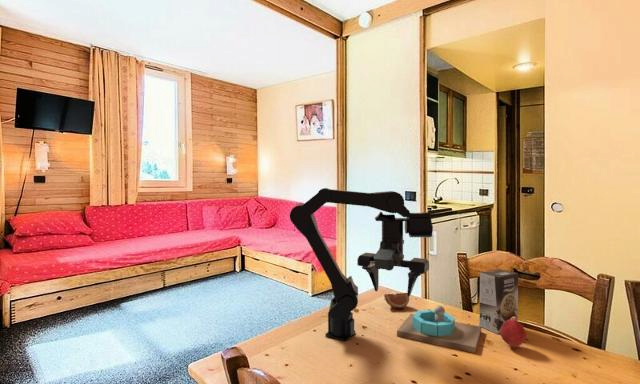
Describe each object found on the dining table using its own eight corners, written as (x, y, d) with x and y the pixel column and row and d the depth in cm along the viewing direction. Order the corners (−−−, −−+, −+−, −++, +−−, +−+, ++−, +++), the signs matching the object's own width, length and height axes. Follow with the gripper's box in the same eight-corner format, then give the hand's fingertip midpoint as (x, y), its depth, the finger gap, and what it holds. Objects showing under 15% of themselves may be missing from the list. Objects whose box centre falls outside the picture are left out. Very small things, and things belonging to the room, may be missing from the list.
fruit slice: (386, 311, 115) (386, 296, 115) (381, 304, 122) (381, 290, 122) (411, 310, 116) (411, 295, 116) (405, 303, 123) (405, 289, 123)
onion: (501, 350, 89) (502, 319, 88) (498, 340, 94) (499, 311, 94) (528, 354, 87) (528, 322, 86) (523, 344, 92) (523, 314, 92)
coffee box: (498, 334, 98) (498, 277, 97) (478, 326, 103) (478, 271, 103) (518, 328, 102) (519, 273, 101) (498, 320, 108) (499, 268, 107)
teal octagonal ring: (409, 330, 97) (409, 320, 97) (419, 317, 106) (419, 307, 106) (450, 339, 92) (450, 327, 92) (456, 324, 101) (456, 314, 101)
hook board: (396, 335, 97) (396, 307, 97) (411, 318, 110) (411, 293, 109) (475, 353, 87) (475, 321, 87) (481, 331, 99) (481, 304, 99)
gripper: (348, 238, 94) (349, 296, 94) (419, 244, 84) (418, 309, 85) (365, 233, 103) (365, 285, 104) (429, 238, 94) (429, 295, 95)
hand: (392, 293), depth 97 cm, fingers open, 9 cm apart
